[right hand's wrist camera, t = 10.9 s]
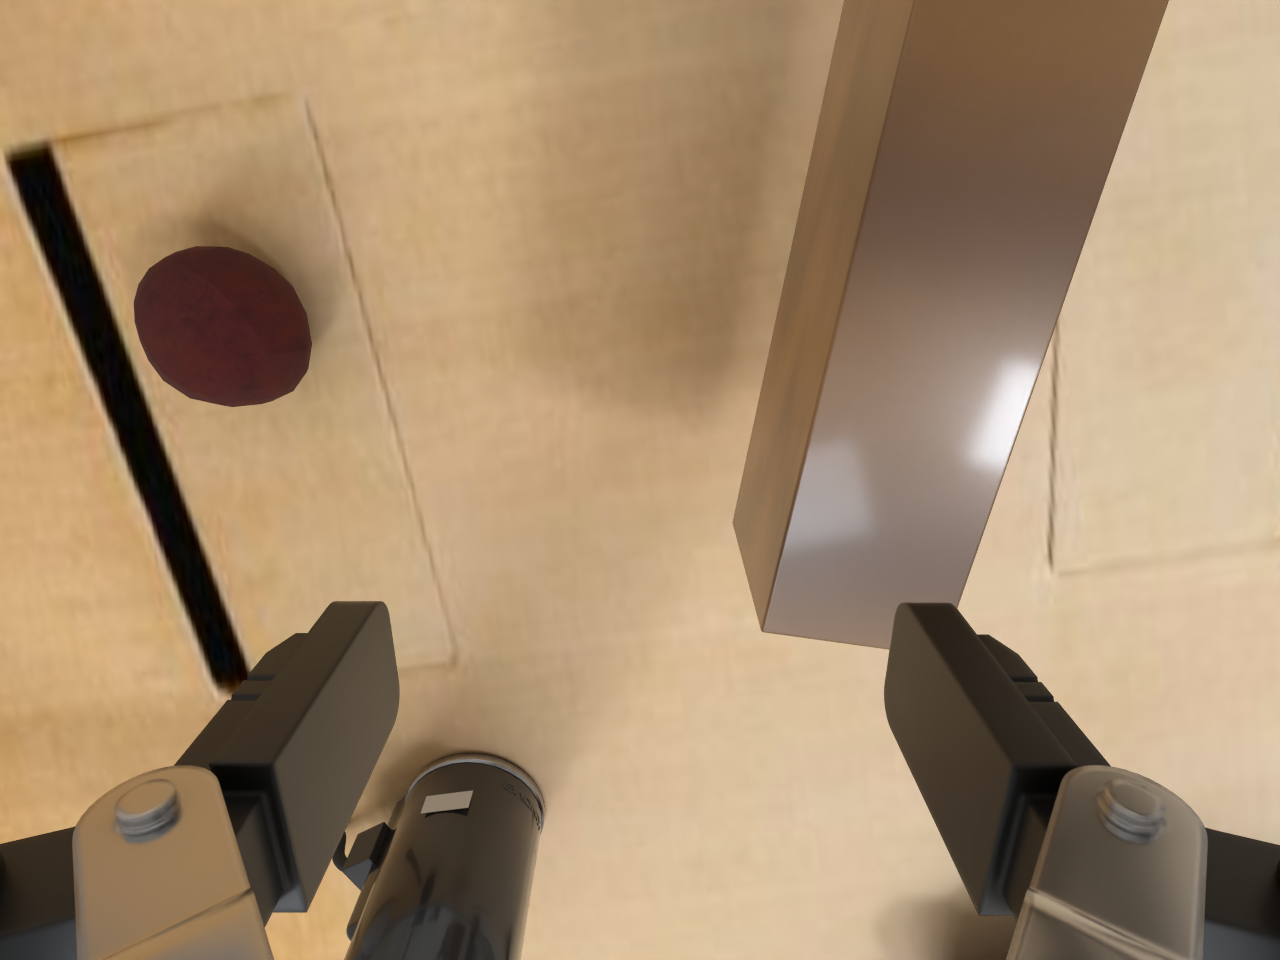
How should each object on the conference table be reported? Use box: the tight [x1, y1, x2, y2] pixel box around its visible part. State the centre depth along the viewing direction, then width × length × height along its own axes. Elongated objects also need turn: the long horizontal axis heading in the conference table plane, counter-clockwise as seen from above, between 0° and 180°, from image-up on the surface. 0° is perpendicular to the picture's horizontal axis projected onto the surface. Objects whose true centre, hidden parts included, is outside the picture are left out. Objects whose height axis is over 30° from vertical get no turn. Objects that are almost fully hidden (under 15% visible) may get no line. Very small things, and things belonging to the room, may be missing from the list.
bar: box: [733, 0, 1169, 650], centre depth 23 cm, size 27×6×9 cm, turn 171°
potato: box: [134, 246, 312, 407], centre depth 35 cm, size 7×8×7 cm
